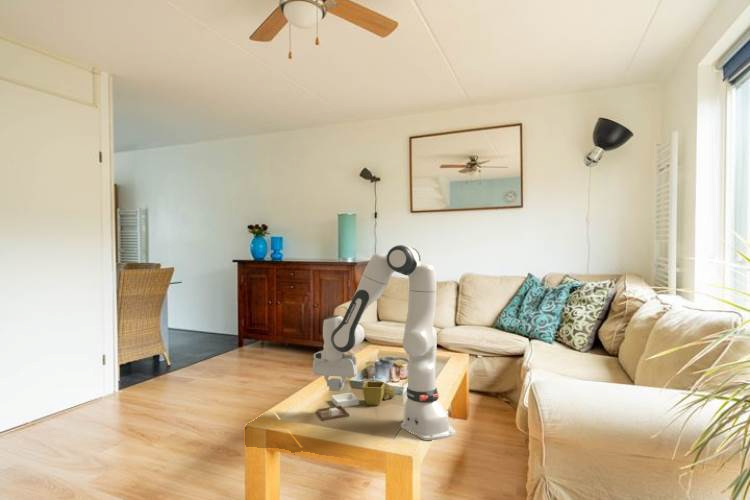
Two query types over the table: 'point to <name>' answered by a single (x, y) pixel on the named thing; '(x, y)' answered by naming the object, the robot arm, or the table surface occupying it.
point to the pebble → (335, 384)
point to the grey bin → (345, 400)
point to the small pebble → (333, 412)
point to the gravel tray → (325, 416)
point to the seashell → (388, 392)
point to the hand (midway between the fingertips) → (335, 386)
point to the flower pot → (373, 392)
